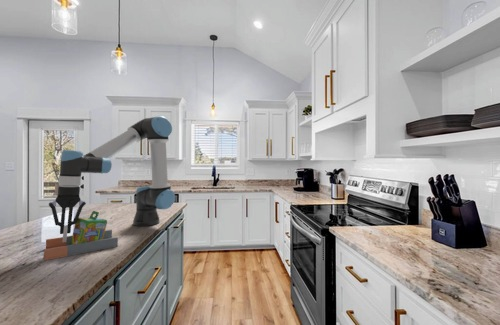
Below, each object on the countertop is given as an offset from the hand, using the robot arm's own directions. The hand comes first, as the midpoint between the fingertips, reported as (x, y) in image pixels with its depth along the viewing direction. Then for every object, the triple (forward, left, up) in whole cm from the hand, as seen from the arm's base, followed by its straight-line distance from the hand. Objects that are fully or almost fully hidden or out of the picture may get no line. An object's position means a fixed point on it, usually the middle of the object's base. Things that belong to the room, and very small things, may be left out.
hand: (64, 241), depth 101 cm
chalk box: (-8, 0, -3) cm, 9 cm away
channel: (-6, 0, -4) cm, 8 cm away
